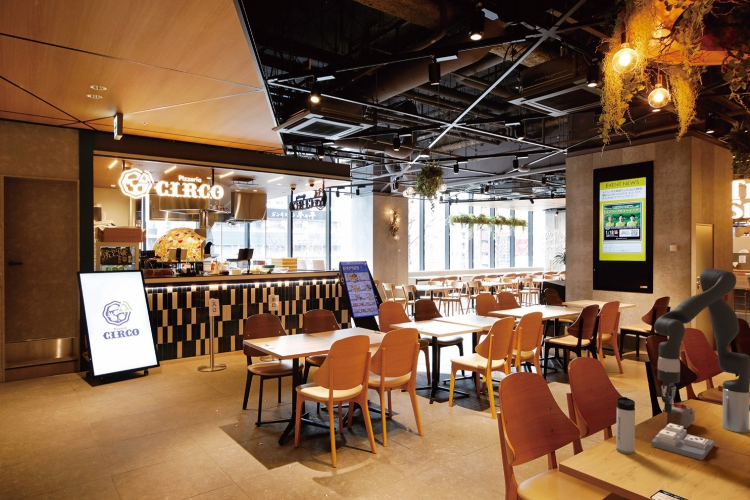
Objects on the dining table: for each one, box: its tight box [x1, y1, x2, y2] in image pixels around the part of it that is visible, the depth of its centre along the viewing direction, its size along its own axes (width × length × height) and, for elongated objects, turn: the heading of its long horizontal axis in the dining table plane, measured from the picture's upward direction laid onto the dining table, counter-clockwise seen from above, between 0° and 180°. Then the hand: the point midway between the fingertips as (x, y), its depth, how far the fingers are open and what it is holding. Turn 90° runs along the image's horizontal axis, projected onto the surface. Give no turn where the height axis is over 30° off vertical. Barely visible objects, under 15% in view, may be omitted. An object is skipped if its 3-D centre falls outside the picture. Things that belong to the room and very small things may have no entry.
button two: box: [665, 423, 684, 433], centre depth 193 cm, size 5×5×2 cm
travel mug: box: [615, 396, 636, 455], centre depth 181 cm, size 6×7×20 cm
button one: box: [658, 428, 677, 440], centre depth 186 cm, size 5×5×2 cm
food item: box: [665, 402, 696, 429], centre depth 208 cm, size 14×8×10 cm, turn 129°
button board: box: [650, 427, 715, 461], centre depth 186 cm, size 19×17×4 cm
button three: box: [687, 435, 706, 443], centre depth 183 cm, size 5×5×2 cm
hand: (668, 412), depth 186 cm, fingers closed
